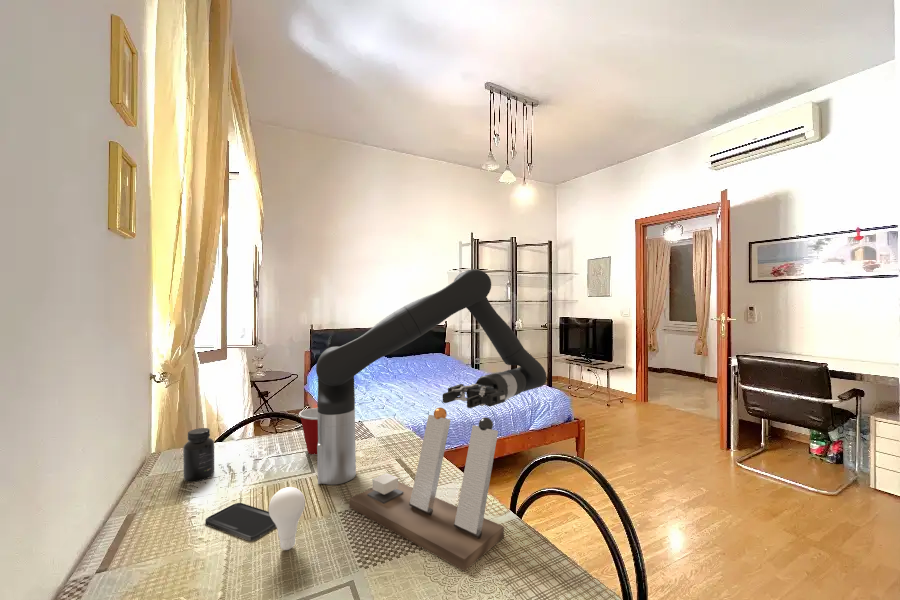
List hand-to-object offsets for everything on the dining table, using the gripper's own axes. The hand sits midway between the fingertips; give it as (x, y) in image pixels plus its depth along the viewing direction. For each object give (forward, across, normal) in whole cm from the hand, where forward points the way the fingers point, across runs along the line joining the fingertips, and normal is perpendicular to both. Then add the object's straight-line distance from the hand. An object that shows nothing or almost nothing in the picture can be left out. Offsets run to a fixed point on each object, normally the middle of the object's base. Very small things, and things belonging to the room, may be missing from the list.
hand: (455, 401), depth 88 cm
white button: (+12, -11, +20) cm, 25 cm away
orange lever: (+12, 0, +19) cm, 22 cm away
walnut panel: (+12, 0, +22) cm, 25 cm away
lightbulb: (+33, -13, +22) cm, 42 cm away
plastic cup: (+4, -51, +22) cm, 56 cm away
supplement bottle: (+33, -60, +22) cm, 72 cm away
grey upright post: (+12, +12, +19) cm, 25 cm away
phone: (+35, -28, +22) cm, 50 cm away
